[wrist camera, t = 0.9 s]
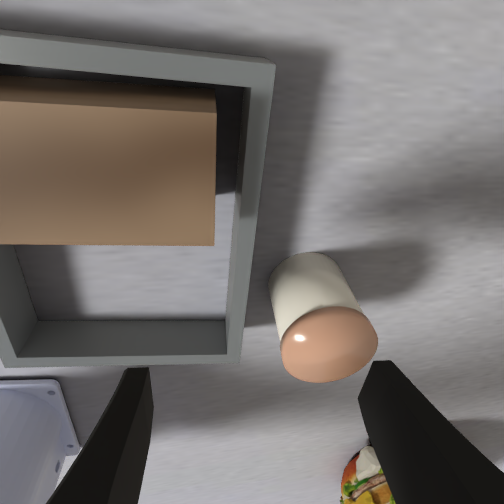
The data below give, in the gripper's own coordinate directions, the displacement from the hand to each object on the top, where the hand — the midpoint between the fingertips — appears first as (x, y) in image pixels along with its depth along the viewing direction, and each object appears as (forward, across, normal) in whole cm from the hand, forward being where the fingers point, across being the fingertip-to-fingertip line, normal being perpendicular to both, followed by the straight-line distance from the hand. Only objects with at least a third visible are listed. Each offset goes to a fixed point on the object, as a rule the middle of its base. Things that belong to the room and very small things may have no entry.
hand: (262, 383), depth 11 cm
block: (+10, +6, -5) cm, 12 cm away
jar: (+10, -4, +4) cm, 11 cm away
